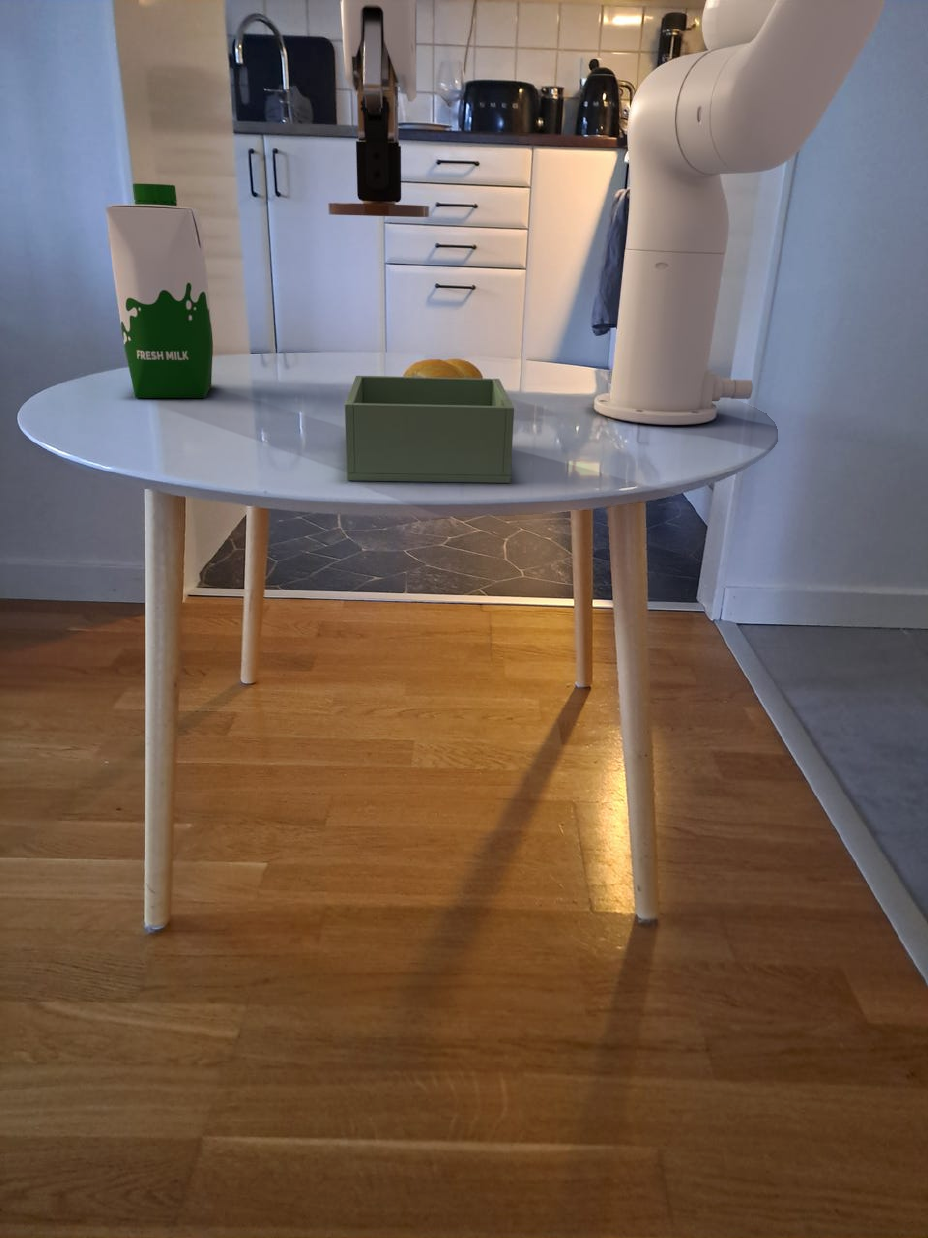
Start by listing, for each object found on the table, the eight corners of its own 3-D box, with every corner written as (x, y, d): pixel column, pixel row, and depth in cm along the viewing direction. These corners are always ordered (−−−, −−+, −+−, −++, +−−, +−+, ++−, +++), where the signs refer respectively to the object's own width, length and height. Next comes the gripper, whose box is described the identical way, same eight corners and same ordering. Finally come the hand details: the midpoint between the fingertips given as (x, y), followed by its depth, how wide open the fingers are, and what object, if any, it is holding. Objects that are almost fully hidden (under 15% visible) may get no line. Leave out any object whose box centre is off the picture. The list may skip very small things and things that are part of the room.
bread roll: (496, 395, 94) (498, 358, 93) (440, 404, 88) (441, 365, 87) (444, 384, 99) (445, 349, 98) (388, 392, 94) (388, 355, 92)
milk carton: (220, 384, 95) (202, 186, 86) (212, 400, 87) (191, 183, 78) (139, 384, 93) (112, 183, 85) (123, 400, 85) (92, 179, 77)
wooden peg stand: (430, 217, 70) (430, 127, 68) (428, 217, 63) (429, 117, 60) (334, 214, 70) (331, 124, 67) (322, 214, 63) (318, 113, 60)
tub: (496, 443, 74) (499, 378, 71) (510, 483, 63) (514, 407, 60) (357, 441, 73) (355, 375, 71) (346, 480, 62) (344, 404, 60)
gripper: (427, -136, 51) (425, 201, 59) (430, -57, 66) (428, 204, 74) (303, -141, 51) (318, 198, 59) (334, -61, 65) (343, 201, 73)
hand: (379, 199), depth 66 cm, fingers closed on wooden peg stand, 2 cm apart
